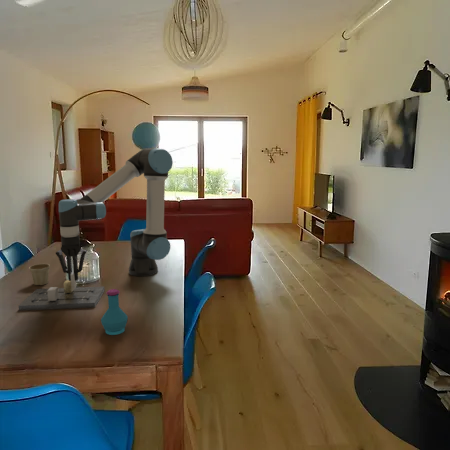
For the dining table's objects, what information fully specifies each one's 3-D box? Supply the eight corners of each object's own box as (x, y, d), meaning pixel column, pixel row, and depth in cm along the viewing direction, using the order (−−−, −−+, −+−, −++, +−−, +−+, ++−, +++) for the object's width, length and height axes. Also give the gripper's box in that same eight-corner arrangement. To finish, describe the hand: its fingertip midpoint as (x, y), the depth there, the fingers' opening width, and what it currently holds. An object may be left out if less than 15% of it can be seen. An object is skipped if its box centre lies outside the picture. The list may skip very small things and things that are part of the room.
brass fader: (73, 289, 178) (73, 279, 177) (71, 292, 174) (70, 282, 173) (67, 289, 178) (66, 280, 177) (64, 292, 174) (63, 283, 173)
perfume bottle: (104, 325, 146) (102, 286, 144) (130, 324, 147) (128, 286, 144) (99, 337, 137) (96, 295, 134) (126, 335, 138) (124, 295, 135)
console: (104, 290, 183) (104, 285, 183) (95, 307, 163) (94, 301, 163) (37, 293, 180) (36, 287, 180) (19, 310, 160) (18, 304, 160)
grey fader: (58, 297, 169) (57, 287, 168) (55, 300, 165) (54, 290, 164) (51, 297, 168) (50, 287, 168) (48, 300, 165) (47, 290, 164)
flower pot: (43, 287, 188) (41, 269, 186) (26, 286, 190) (24, 268, 188) (55, 281, 197) (54, 264, 195) (38, 279, 199) (37, 263, 197)
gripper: (87, 233, 176) (91, 284, 180) (57, 234, 174) (61, 285, 179) (83, 236, 168) (87, 289, 173) (51, 237, 167) (56, 290, 171)
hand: (74, 287), depth 176 cm, fingers closed
